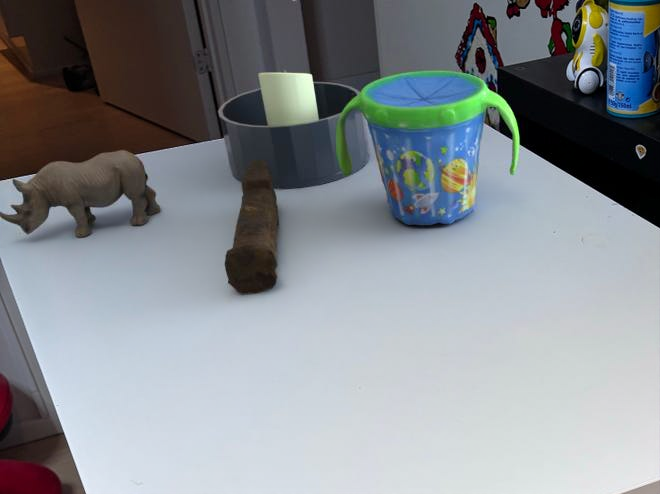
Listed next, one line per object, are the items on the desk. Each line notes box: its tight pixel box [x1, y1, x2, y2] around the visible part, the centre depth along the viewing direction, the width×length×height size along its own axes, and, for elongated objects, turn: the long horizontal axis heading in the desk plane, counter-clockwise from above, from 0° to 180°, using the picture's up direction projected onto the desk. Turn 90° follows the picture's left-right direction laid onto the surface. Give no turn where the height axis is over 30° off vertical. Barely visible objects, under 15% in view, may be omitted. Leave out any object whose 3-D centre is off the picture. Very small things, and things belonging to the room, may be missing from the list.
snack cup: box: [336, 70, 520, 226], centre depth 87 cm, size 16×10×10 cm
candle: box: [257, 69, 319, 126], centre depth 99 cm, size 5×5×8 cm
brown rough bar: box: [224, 160, 280, 295], centre depth 86 cm, size 19×4×5 cm, turn 3°
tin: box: [217, 81, 370, 190], centre depth 100 cm, size 14×14×6 cm
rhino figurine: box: [0, 149, 162, 238], centre depth 90 cm, size 4×14×6 cm, turn 114°
